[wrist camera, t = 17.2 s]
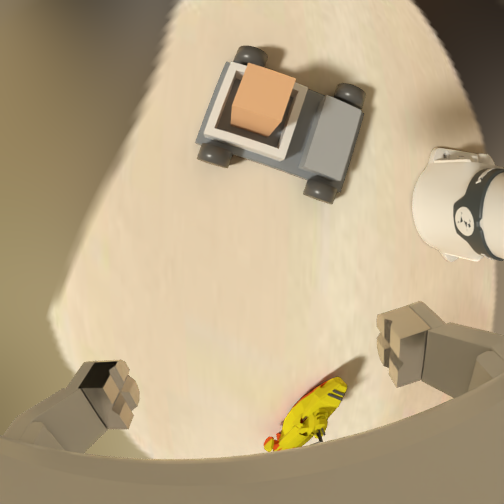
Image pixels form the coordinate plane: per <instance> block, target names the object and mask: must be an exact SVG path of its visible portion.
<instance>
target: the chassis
mask: <svg viewBox="0 0 504 504" xmlns="http://www.w3.org/2000/svg"><path fill="white" fill-rule="evenodd" d="M267 58H268V56H267V54H266V53H265V52H264V51H262V50H260V49H258V48H256V47H252V46H241V47H239V49H238V51H237V54H236V56H235V58H234V62H231V63H229V62H226V63H225V66H224V68H223V71H222V73H221V75H220V78H219V80H218V83H217V85H216V88H215V91H214V93H213V96H212V98H211V101H210V103H209V106H208V109H207V111H206V114H205V117H204V120H203V122H202V125H201V128H200V131H199V133H198V136H197V139H196V142H195V143H196V144H199V145H201V148H200V151H199V154H198V157H197V159H198V160H201V161H204V162H206V163H210V164H213V165H216V166H220V167H223V168H228V166H229V163H230V160H231V157H232V155H235V156H238V157H241V158H245V159H248V160H251V161H254V162H257V163H260V164H263V165H266V166H269V167H271V168H274V169H277V170H280V171H283V172H286V173H289V174H291V175H294V176H297V177H300V178H302V179H305V180H308V181H307V184H306V187H305V190H304V193H303V194H304V195H306V196H309V197H311V198H314V199H317V200H319V201H322V202H326V203H329V204H333V201H334V198H335V195H336V192H341V189H342V186H343V183H344V180H345V176H346V173H347V170H348V167H349V164H350V160H351V157H352V154H353V150H354V147H355V144H356V140H357V137H358V134H359V130H360V127H361V123H362V120H363V116H364V113H362V110H360V109H362V106H363V102H364V99H365V92H364V91H363V90H362V89H360V88H359V87H357V86H354V85H351V84H345V83H342V84H339V85H338V86H337V89H336V92H335V96H334V98H333V97H331V96H329V95H326V96H324V95H322V94H320V93H317V92H315V91H312V90H310V89H308V87H307V86H304V85H301V84H299V83H296V82H295V83H294V86H293V89H292V92H291V95H290V98H289V101H288V104H287V107H286V110H285V112H284V115H283V118H282V121H281V123H280V124H279V125H278V126H277V127H276V128H275V130H274V131H273V132H272V133H271V134H270V136H269V137H265V136H262V135H259V134H256V133H253V132H250V131H247V130H244V129H240V128H237V127H234V126H231V111H232V104H233V101H234V98H235V96H236V93H237V90H238V88H239V85H240V83H241V80H242V77H243V75H244V72H245V70H246V67H247V65H248V63H251V64H255V65H258V66H261V67H264V66H265V63H266V61H267Z"/></svg>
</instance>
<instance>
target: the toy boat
mask: <svg viewBox="0 0 504 504" xmlns="http://www.w3.org/2000/svg"><path fill="white" fill-rule="evenodd" d="M346 390H347V385H346V384H345V382H344V381H343V380H342V379H341V378H340V377H335V378H332V379H330V380H328V381H326V382H324V383H322V384H321V385H319V386H318V387H316V388H314V389H313V391H311V392H309V393H308V394H306V395H305V396H303V397H302V398H301V399H300V400H299V401H298V402H297V403H296V404H295V405H294V406H293V407H292V409H291V410H290V412H289V413H288V415H287V416H286V418H285V419H284V423H283V427H282V431H281V434H280V433H278V434H276V435H277V440H274V438H273V437H268V438H267V439H266V440H265V442H264V449H265V450H266V451H268V452H270V451H271V450H272V449H273V451H280V450H286V449H292V448H298V447H302V446H303V445H304V444H305V443H306V442H308V441H309V440H310V439H311V438H312V437H313V436H315V438H318V439H319V442H317V443H320V442H323V440H322V436H323V435H325V430H326V428H327V423H328V421H327V420H328V417H329V416H330V415H331V414H332V413H333V412H334V411H335V410H336V408H337V407H339V404H340V402H341V401H342V399H343V396H344V395H345V392H346ZM306 416H307V418H306V419H305V420H304V421H303V419H304V418H305V417H306ZM317 443H314V444H317ZM311 445H313V444H311Z"/></svg>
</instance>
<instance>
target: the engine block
mask: <svg viewBox="0 0 504 504" xmlns="http://www.w3.org/2000/svg"><path fill="white" fill-rule="evenodd" d="M295 80H296V78H293V77H290V76H288V75H285V74H282V73H279V72H276V71H273V70H270V69H267V68H264V67H261V66H258V65H255V64H251V63H248V65H247V67H246V70H245V72H244V75H243V77H242V80H241V83H240V85H239V88H238V90H237V93H236V96H235V98H234V101H233V104H232V111H231V126H234V127H237V128H240V129H244V130H247V131H250V132H253V133H256V134H259V135H262V136H265V137H269V136H270V134H271V133H272V132H273V131H274V130H275V128H276V127H277V126H278V125H279V124H280V123H281V121H282V118H283V115H284V112H285V110H286V107H287V104H288V101H289V98H290V95H291V92H292V89H293V86H294V83H295Z"/></svg>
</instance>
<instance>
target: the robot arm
mask: <svg viewBox="0 0 504 504" xmlns="http://www.w3.org/2000/svg"><path fill="white" fill-rule="evenodd" d="M443 154H444V157H443ZM412 211H413V218H414V222H415V226H416V228H417V231H418V233H419V234H420V236H421V238H422V239H423V240H424V241H425V242H426V243H427V244H428V245H429V246H431V247H433V248H435V249H437V250H438V251H440V253H441V254H442V256H443V257H444V259H445V260H446V261H449V262H453V261H455V260H457V259H458V258H459V257H460V258H464V259H468V260H472V261H480V259H481V258H483V257H486V258H488V259H492V260H499V261H503V260H504V167H499V166H495V163H494V161H493V160H492V158H491V157H490V156H489V154H475V153H470V152H464V151H458V150H452V149H445V148H434V149H433V150H432V152H431V155H430V159H429V163H428V165H427V167H426V168H425V169H424V171H423V172H422V173H421V175H420V176H419V178H418V180H417V183H416V185H415V189H414V193H413V200H412ZM377 328H378V329H379V331H380V334H379V336H378V337H377V349H378V354H379V357H380V360H381V362H382V364H383V366H385V367H388V368H389V376H390V377H391V379H392V381H393V382H394V384H395V386H396V388H398V387H401V386H404V385H407V384H410V383H413V382H416V381H419V380H422V381H423V382H425V383H426V384H428V385H430V386H432V387H434V388H436V389H438V390H440V391H442V392H444V393H446V394H448V395H450V396H451V397H453V399H451V400H449V401H447V402H444V403H442V404H440V405H438V406H435V407H433V408H430V409H428V410H426V411H423V412H421V413H418V414H415V415H413V416H410V417H407V418H405V419H402V420H399V421H396V422H393V423H391V424H388V425H385V426H381V427H378V428H375V429H372V430H368V431H365V432H362V433H358V434H354V435H351V436H347V437H343V438H339V439H335V440H331V441H327V442H322V443H318V444H313V445H308V446H303V447H298V448H292V449H286V450H280V451H274V452H267V453H260V454H252V455H243V456H233V457H221V458H204V459H138V458H137V459H136V458H120V457H110V456H100V455H91V454H84V453H85V451H87V449H89V448H90V447H91V446H92V445H93V444H94V443H95V442H96V441H97V440H98V439H99V438H100V437H101V436H102V435H103V434H104V433H105V432H106V431H107V429H129V426H130V424H131V421H132V419H133V416H134V415H133V413H132V410H133V409H134V408H136V407H137V406H138V403H139V395H140V392H139V389H138V385H137V383H136V381H135V380H134V379H133V378H131V377H130V376H129V375H128V374H129V370H130V369H129V368H128V366H127V364H126V362H125V361H123V360H106V361H88V362H84V363H83V364H82V366H81V367H80V369H79V370H78V371H77V373H76V374H75V376H74V377H73V379H72V380H71V382H70V383H69V384H68V386H67V387H66V388H63V389H61V390H59V391H58V392H56V393H55V394H53V395H51V396H50V397H48V398H46V399H45V400H43V401H41V402H40V403H38V404H37V405H35V406H33V407H32V408H30V409H28V410H27V411H25V412H24V413H22V414H21V415H19V416H17V417H16V418H15V419H14V421H13V422H12V424H11V425H10V426H9V428H8V429H7V431H6V432H5V434H4V435H3V436H1V435H0V504H504V335H502V334H497V333H493V332H489V331H484V330H480V329H476V328H472V327H467V326H463V325H459V324H455V323H451V322H450V323H447V324H446V323H445V322H444V321H443V320H442V319H441V318H440V317H439V316H437V315H436V314H435V313H434V312H433V311H432V310H431V309H430V308H429V307H428V306H427V305H426V304H424V303H423V302H421V301H418V302H415V303H412V304H409V305H407V306H404V307H401V308H398V309H394V310H391V311H388V312H385V313H381V314H378V315H377Z"/></svg>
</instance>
